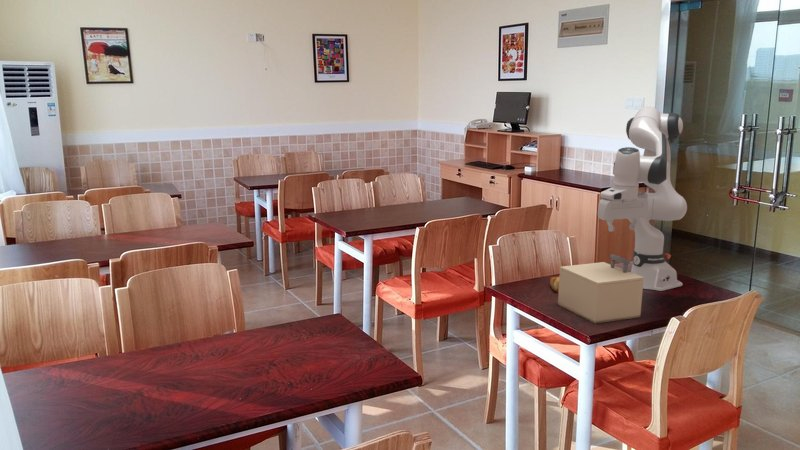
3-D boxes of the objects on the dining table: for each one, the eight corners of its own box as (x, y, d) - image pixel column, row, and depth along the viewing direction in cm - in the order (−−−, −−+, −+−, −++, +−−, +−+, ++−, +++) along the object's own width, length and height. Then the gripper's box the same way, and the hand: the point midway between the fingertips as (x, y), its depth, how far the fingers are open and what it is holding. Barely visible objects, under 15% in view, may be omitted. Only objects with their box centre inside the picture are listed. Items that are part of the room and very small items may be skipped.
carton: (600, 298, 256) (603, 264, 253) (640, 317, 236) (643, 279, 233) (557, 304, 249) (560, 268, 246) (594, 323, 229) (597, 285, 226)
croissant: (585, 307, 257) (594, 289, 257) (566, 298, 253) (576, 279, 253) (555, 290, 277) (564, 273, 276) (537, 281, 273) (546, 264, 272)
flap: (603, 264, 253) (604, 249, 252) (643, 279, 233) (645, 263, 232) (560, 268, 246) (561, 253, 245) (597, 285, 226) (598, 268, 225)
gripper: (641, 190, 243) (638, 226, 246) (596, 193, 236) (593, 230, 239) (654, 193, 237) (650, 230, 240) (607, 195, 230) (605, 234, 233)
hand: (621, 230), depth 239 cm, fingers open, 8 cm apart
